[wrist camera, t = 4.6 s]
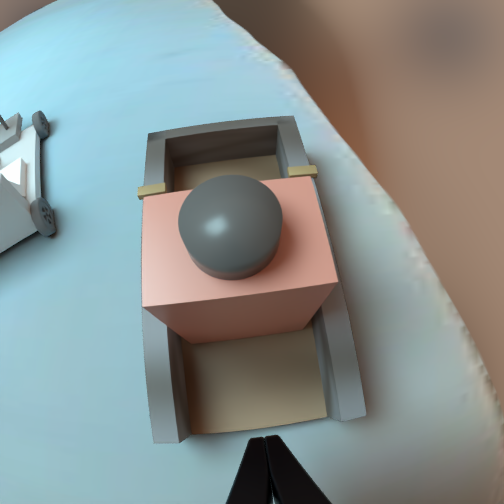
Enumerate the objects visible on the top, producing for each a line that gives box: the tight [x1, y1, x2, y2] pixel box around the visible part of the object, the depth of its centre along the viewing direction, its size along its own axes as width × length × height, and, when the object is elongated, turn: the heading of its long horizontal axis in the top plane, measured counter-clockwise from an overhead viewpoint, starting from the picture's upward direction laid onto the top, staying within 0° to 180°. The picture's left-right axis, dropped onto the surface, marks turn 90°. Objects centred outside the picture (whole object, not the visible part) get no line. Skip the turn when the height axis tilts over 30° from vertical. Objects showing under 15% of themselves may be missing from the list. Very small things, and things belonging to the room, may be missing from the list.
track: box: [138, 116, 366, 443], centre depth 17 cm, size 18×11×4 cm, turn 8°
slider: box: [142, 175, 338, 344], centre depth 13 cm, size 4×6×9 cm, turn 98°
